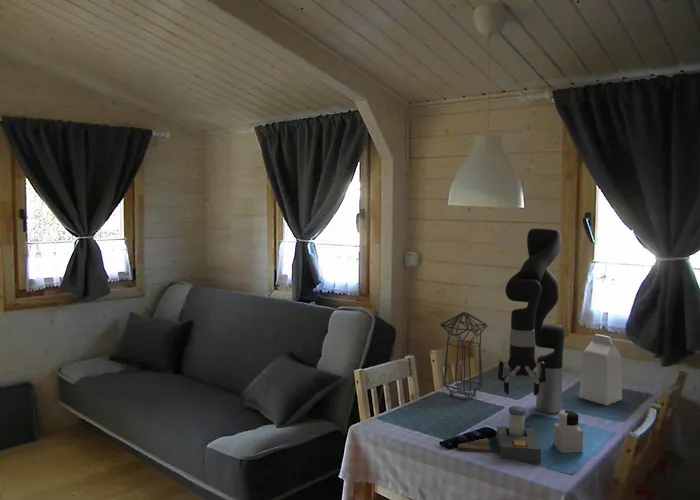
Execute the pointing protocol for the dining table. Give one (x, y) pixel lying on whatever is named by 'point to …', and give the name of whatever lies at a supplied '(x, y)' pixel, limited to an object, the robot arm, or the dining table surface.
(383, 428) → the dining table surface
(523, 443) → the orange cardboard box
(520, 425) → the cylinder
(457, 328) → the geometric lantern
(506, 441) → the block
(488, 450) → the walnut pad
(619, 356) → the milk
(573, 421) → the medicine bottle
